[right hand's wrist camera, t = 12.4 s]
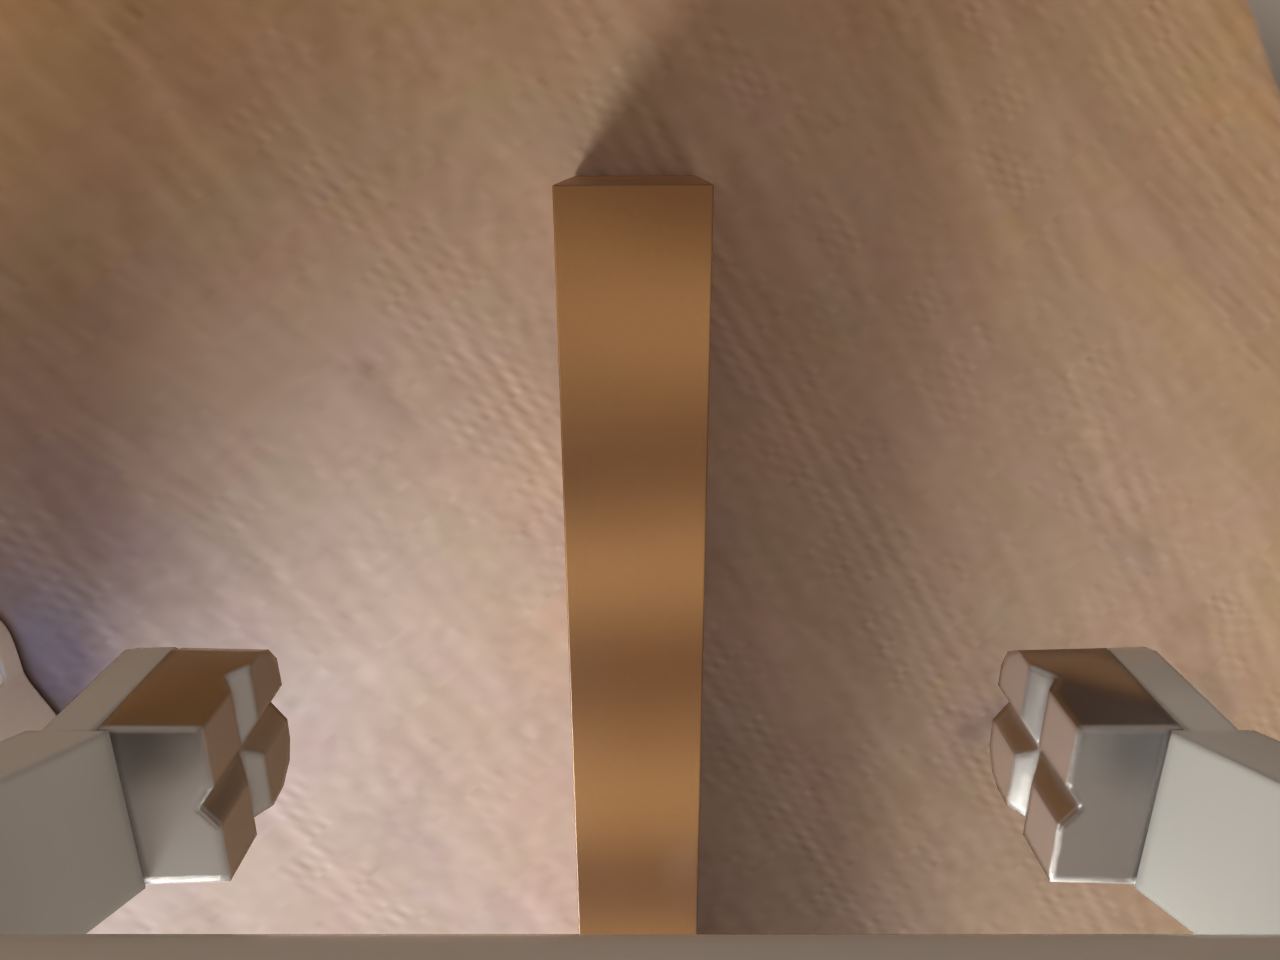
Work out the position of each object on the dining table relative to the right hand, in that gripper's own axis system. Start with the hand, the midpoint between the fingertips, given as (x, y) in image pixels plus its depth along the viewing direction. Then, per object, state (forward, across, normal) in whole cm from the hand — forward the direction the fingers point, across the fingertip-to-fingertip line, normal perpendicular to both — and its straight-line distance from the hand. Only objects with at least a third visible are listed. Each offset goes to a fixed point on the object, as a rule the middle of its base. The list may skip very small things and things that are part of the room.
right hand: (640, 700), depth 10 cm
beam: (+28, 0, -22) cm, 36 cm away
